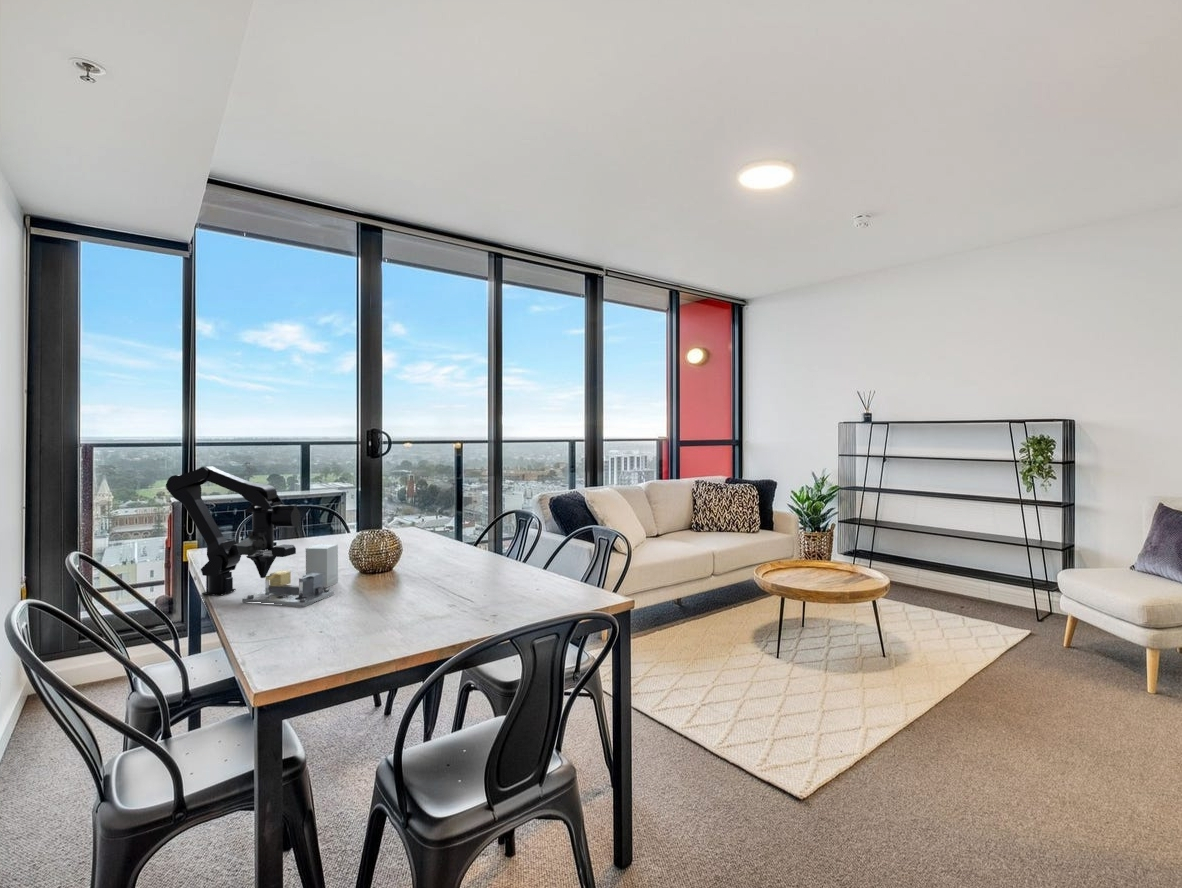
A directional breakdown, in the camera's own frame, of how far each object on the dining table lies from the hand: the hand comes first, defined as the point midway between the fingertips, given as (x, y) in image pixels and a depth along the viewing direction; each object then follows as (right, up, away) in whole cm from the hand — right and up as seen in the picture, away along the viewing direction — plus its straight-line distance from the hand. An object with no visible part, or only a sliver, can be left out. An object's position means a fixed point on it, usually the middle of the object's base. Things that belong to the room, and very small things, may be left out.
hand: (263, 577), depth 185 cm
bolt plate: (+11, -5, -5) cm, 13 cm away
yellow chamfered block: (+6, -3, -4) cm, 8 cm away
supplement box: (+13, -5, +12) cm, 18 cm away
